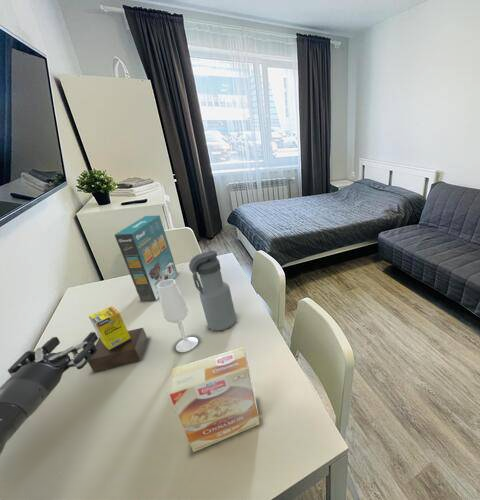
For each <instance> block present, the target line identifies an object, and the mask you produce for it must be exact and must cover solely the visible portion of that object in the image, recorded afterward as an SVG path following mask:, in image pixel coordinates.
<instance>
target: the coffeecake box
mask: <svg viewBox="0 0 480 500" xmlns="http://www.w3.org/2000/svg"><path fill="white" fill-rule="evenodd" d="M168 393H169V397H170V399H171V401H172V404H173V407H174V409H175V411H176V414H177V417H178V419H179V422H180V424H181V426H182V428H183V430H184V433H185V435H186V438H187V440H188V442H189V445H190V447H191V449H192V452H193V453H195V452H197V451H200V450H202V449H205V448H207V447H209V446H212V445H214V444H216V443H219V442H221V441H223V440H226V439H228V438H231V437H233V436H235V435H237V434H240V433H243V432H245V431H248V430H250V429H252V428H254V427H258V426H259V425H260V424H261V423H260V418H259V410H258V405H257V399H256V394H255V389H254V385H253V380H252V376H251V371H250V366H249V361H248V358H247V351H246V348H245V346H241V347H238V348H234V349H231V350H228V351H225V352H221V353H218V354H215V355H211V356H209V357H205V358H202V359H199V360H195V361H191V362H189V363H185V364H181V365H178V366H176V367H172V371H171V379H170V384H169V392H168Z"/></svg>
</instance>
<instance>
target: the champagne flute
mask: <svg viewBox="0 0 480 500" xmlns="http://www.w3.org/2000/svg"><path fill="white" fill-rule="evenodd" d="M157 288H158V293H159V297H158V298H159V301H160V306H161V310H162V314H163V318H164V319H165V321H167V322H168V323H173V324H177V326H178V329H179V331H180V334H181V337H182V340H180V341H179V342H178V343H177V344H176V346H175V350H176V351H177V352H179V353H186V352H189V351H191V350H193V349H194V348H195V347H196V346H197V345H198V343H199V339H198V338H197V337H195V336H189V337H188V336H187V332H186V330H185V328H184V325H183V321H184V320H185V318H186V317H187V316H188V313H189V307H188V306H187V303H186V301H185V299H184V297H183V294H182V292H181V291H180V288H179V287H178V284H177V282H176V280H175V278H174V279H167V280H163V281H161V282H159V283H158V284H157Z"/></svg>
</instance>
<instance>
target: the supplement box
mask: <svg viewBox="0 0 480 500" xmlns="http://www.w3.org/2000/svg"><path fill="white" fill-rule="evenodd" d="M88 319H89V320H90V322H91V324H92V326H93V327H94V329H95V332H96V334H97V336H98V338H100V339H101V341H102V343H103V345H104V346H105V347H106V348H107V349H108V350H109V351H112V350H114V349H116V348H118V347H120V346H121V345H123V344H125V343H127V342H129V341H131V337H130V335H129V333H128V331H129V330H128V328H127V327H126V324H125V322H124V320H123V318H122V315H121V312H119V311H118V310H117V309H116V308H114V306H113V305H111V306H108V307H107V308H104V309H102V310H100V311H98V312H94V313H93V314H90V315H89V316H88Z"/></svg>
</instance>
